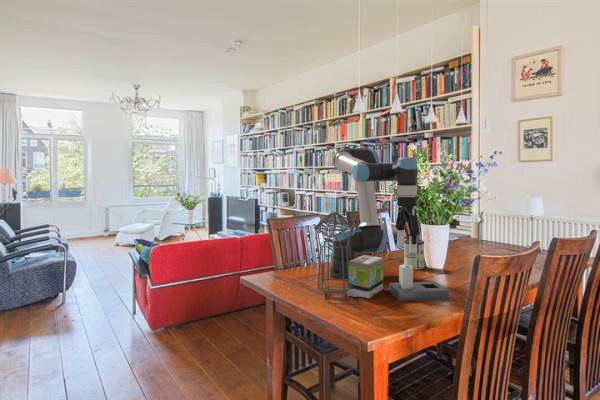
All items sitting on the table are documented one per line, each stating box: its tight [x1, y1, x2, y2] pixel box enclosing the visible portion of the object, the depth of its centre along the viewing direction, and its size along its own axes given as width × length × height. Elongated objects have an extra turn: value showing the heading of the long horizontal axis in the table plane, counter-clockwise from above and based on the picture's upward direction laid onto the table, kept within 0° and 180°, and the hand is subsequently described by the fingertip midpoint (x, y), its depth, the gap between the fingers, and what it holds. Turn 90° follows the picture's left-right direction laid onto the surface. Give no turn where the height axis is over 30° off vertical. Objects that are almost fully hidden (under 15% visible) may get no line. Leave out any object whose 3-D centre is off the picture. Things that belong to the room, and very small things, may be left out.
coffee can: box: [403, 239, 425, 270], centre depth 202 cm, size 10×10×14 cm
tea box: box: [346, 254, 385, 299], centre depth 158 cm, size 15×10×15 cm, turn 146°
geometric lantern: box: [313, 211, 356, 299], centre depth 154 cm, size 16×16×35 cm
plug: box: [398, 263, 414, 289], centre depth 152 cm, size 4×4×13 cm
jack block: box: [388, 281, 450, 302], centre depth 153 cm, size 20×12×4 cm, turn 94°
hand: (406, 249), depth 151 cm, fingers open, 13 cm apart
